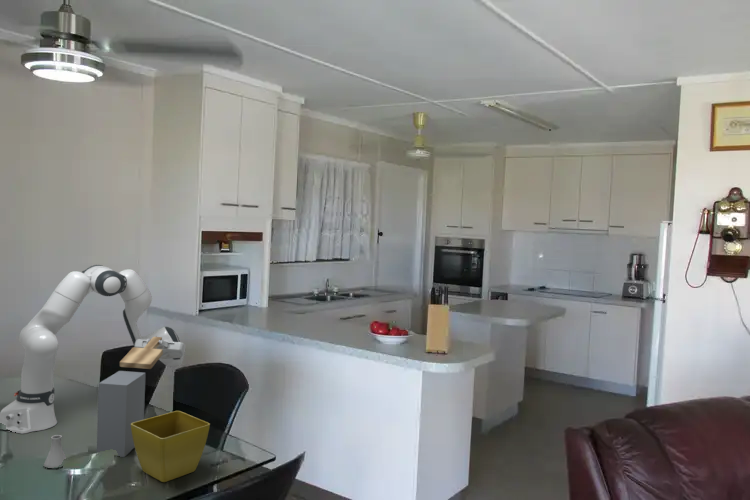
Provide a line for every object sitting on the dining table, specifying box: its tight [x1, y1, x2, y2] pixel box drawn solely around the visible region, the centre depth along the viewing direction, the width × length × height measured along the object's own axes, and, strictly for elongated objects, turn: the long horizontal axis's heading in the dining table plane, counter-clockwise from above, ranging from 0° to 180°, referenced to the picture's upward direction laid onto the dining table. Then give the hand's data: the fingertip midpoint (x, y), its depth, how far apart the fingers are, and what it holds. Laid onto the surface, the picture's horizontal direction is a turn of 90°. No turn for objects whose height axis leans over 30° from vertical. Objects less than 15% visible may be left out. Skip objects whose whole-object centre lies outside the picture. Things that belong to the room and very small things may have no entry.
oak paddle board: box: [119, 337, 163, 370], centre depth 240 cm, size 12×22×2 cm, turn 178°
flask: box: [42, 434, 67, 468], centre depth 203 cm, size 7×7×10 cm
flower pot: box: [131, 410, 211, 483], centre depth 204 cm, size 19×19×17 cm
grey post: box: [96, 370, 147, 458], centre depth 220 cm, size 10×16×26 cm, turn 178°
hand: (154, 341), depth 247 cm, fingers closed on oak paddle board, 3 cm apart
